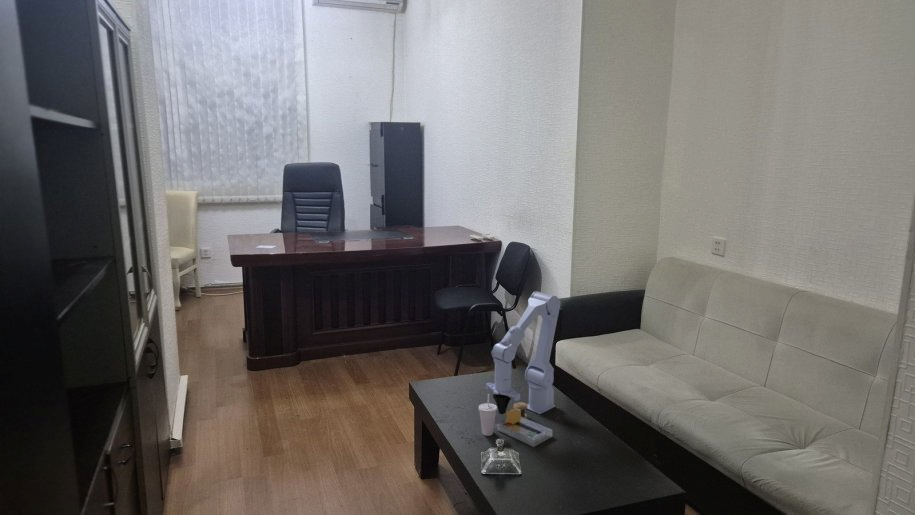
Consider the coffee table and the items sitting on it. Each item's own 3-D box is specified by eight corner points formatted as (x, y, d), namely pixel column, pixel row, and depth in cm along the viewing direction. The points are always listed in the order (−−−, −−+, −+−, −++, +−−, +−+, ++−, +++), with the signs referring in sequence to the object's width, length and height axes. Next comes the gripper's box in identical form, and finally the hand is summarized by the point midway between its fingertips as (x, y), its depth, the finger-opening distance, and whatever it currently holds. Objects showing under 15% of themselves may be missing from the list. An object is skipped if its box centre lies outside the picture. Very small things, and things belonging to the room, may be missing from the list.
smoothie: (498, 430, 206) (499, 392, 203) (493, 439, 200) (494, 400, 197) (481, 427, 208) (481, 390, 205) (475, 435, 202) (476, 397, 199)
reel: (519, 412, 220) (519, 401, 219) (530, 417, 216) (530, 405, 215) (510, 417, 216) (510, 405, 215) (521, 421, 213) (521, 409, 212)
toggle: (514, 417, 209) (514, 406, 209) (520, 420, 207) (520, 409, 206) (506, 421, 207) (506, 410, 206) (513, 424, 205) (513, 413, 204)
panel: (516, 420, 213) (516, 414, 213) (552, 436, 202) (552, 429, 201) (497, 430, 206) (497, 423, 206) (533, 447, 195) (534, 439, 194)
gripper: (480, 374, 210) (479, 410, 213) (511, 386, 200) (510, 423, 203) (493, 369, 215) (493, 404, 218) (524, 380, 205) (523, 417, 207)
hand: (502, 413), depth 210 cm, fingers closed
